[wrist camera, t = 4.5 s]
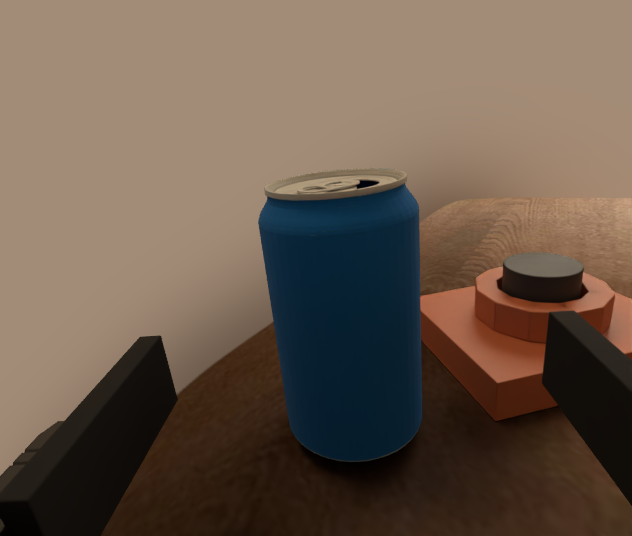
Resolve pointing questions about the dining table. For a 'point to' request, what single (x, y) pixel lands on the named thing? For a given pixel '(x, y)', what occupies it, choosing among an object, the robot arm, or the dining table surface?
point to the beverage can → (346, 308)
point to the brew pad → (511, 338)
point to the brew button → (542, 277)
